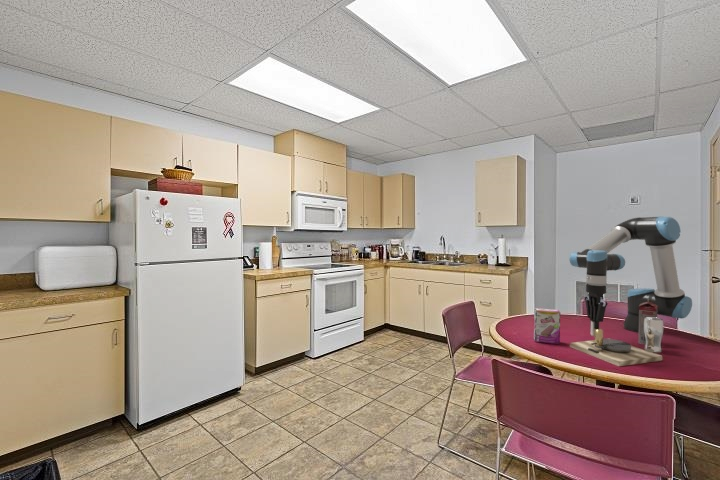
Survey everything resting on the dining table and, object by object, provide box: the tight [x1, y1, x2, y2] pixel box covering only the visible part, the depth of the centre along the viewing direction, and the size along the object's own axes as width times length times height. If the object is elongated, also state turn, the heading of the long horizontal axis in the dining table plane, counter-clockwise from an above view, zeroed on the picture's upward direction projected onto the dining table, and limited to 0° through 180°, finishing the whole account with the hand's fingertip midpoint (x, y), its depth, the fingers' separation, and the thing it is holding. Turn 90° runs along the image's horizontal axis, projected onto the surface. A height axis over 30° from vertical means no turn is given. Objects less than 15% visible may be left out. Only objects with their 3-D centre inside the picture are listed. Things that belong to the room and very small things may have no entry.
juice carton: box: [638, 298, 658, 346], centre depth 167 cm, size 7×7×22 cm
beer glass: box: [644, 317, 664, 354], centre depth 157 cm, size 7×7×15 cm
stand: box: [569, 339, 663, 367], centre depth 154 cm, size 24×24×3 cm
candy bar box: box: [533, 307, 561, 345], centre depth 170 cm, size 11×5×16 cm, turn 71°
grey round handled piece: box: [591, 328, 632, 353], centre depth 154 cm, size 18×12×9 cm, turn 102°
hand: (594, 335), depth 155 cm, fingers closed
